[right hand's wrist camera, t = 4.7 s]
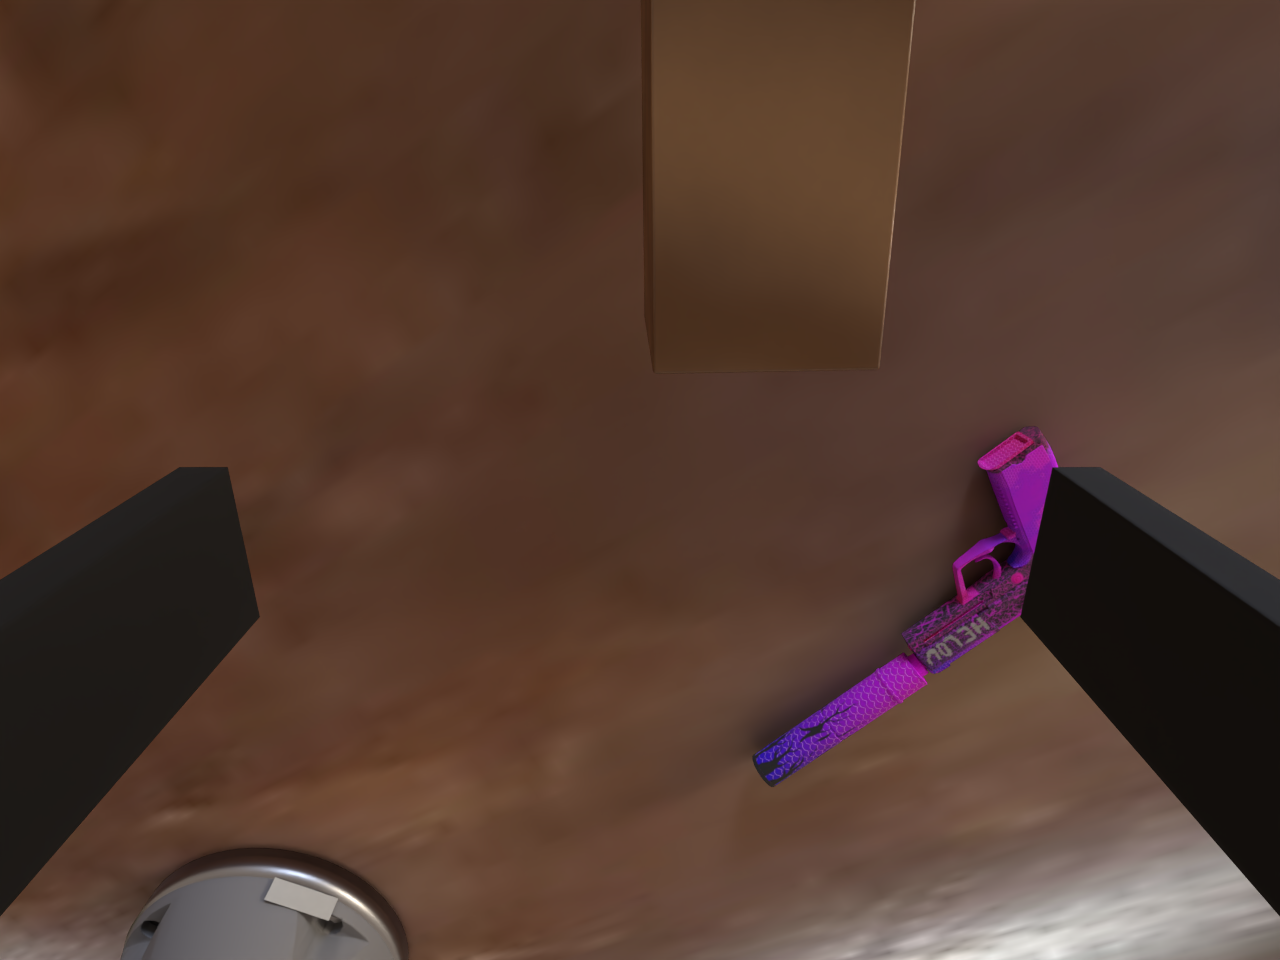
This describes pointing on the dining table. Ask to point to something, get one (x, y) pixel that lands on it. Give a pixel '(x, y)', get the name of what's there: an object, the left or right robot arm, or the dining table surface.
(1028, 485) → the handgun
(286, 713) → the dining table surface
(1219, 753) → the right robot arm
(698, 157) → the bar
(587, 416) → the dining table surface
